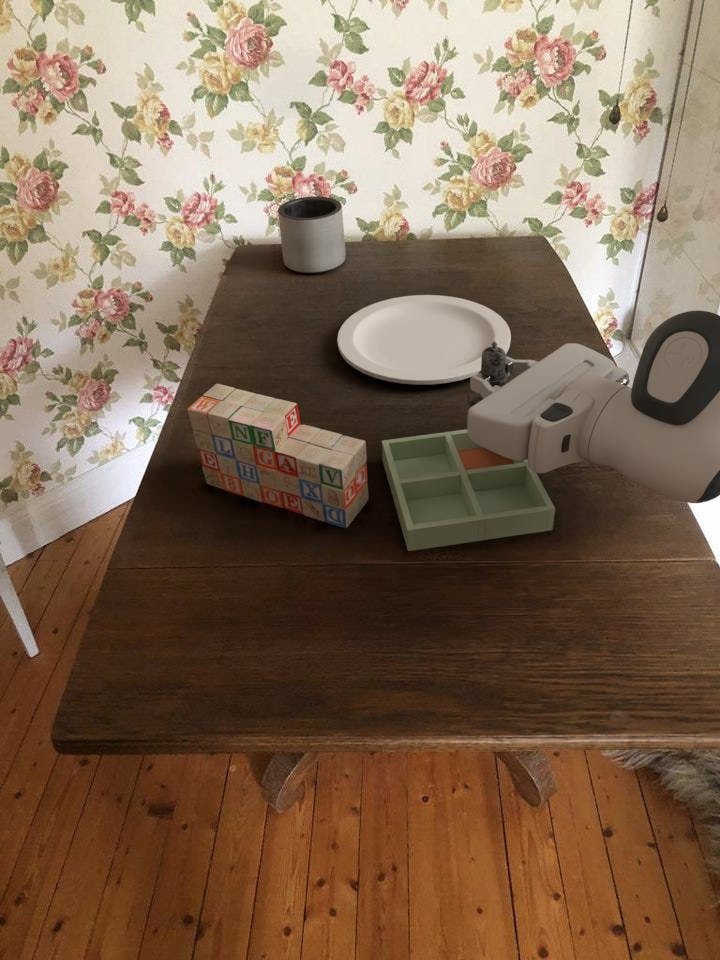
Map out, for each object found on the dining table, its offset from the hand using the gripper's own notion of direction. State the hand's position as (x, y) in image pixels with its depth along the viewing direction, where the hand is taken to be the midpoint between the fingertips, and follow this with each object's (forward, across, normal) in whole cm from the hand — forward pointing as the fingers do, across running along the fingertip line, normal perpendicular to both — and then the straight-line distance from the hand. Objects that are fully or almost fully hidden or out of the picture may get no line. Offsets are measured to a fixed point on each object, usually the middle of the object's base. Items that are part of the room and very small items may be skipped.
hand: (486, 372), depth 90 cm
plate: (+26, -18, +14) cm, 35 cm away
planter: (+66, -29, +14) cm, 73 cm away
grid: (-2, +6, +14) cm, 16 cm away
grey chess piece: (-1, 0, +8) cm, 8 cm away
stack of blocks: (+15, +21, +14) cm, 30 cm away
